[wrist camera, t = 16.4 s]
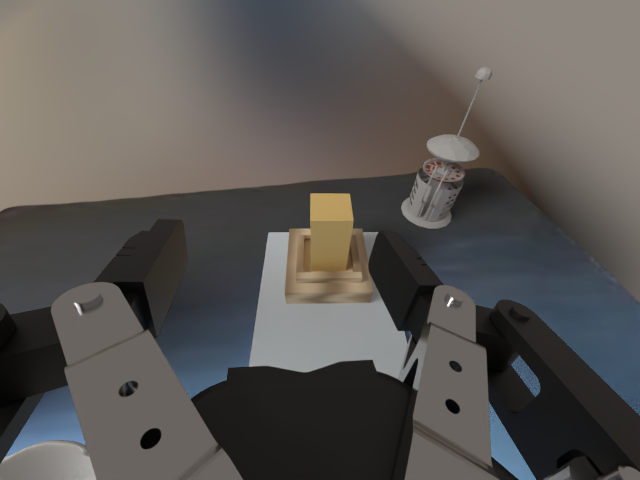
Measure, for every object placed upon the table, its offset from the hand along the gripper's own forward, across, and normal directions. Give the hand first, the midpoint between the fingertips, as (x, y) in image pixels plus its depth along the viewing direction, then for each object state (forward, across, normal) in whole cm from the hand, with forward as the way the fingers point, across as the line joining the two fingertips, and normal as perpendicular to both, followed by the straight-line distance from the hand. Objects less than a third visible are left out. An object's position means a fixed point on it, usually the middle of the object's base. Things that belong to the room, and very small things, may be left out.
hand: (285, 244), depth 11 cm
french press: (+34, -30, +14) cm, 47 cm away
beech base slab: (+23, -9, +19) cm, 31 cm away
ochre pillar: (+22, -9, +16) cm, 29 cm away
